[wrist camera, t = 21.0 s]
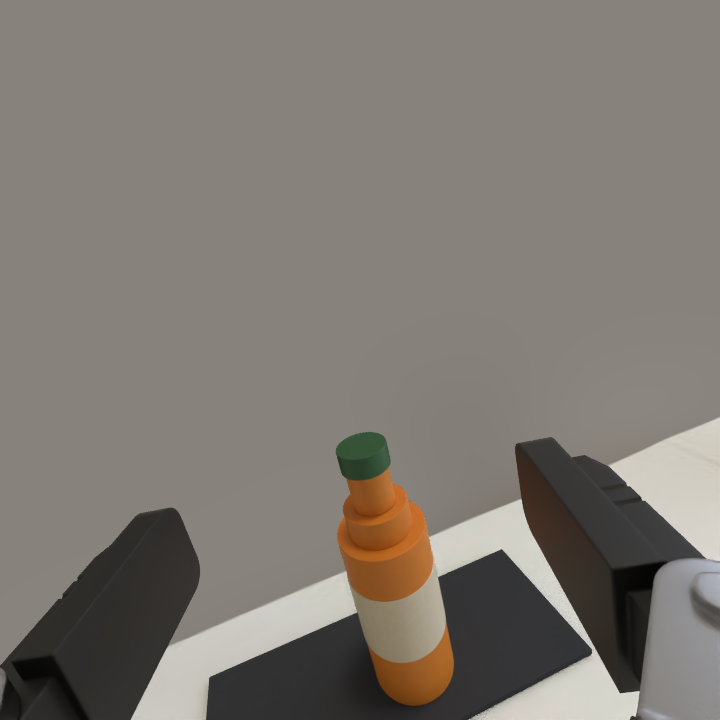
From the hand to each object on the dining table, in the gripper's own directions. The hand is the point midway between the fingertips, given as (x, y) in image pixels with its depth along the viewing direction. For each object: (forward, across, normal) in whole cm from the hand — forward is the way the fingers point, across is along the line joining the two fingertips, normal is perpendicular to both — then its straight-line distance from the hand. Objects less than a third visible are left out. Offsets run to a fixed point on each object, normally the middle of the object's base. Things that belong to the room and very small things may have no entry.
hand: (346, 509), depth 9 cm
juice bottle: (+14, +1, +23) cm, 27 cm away
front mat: (+14, +3, +23) cm, 27 cm away
